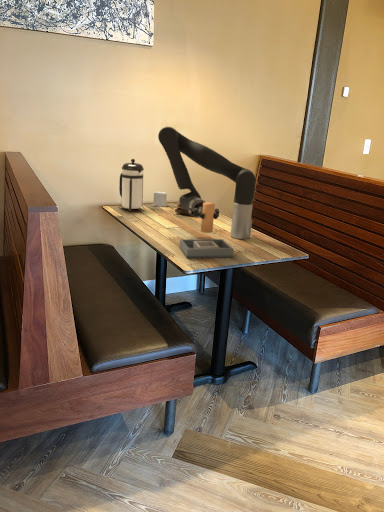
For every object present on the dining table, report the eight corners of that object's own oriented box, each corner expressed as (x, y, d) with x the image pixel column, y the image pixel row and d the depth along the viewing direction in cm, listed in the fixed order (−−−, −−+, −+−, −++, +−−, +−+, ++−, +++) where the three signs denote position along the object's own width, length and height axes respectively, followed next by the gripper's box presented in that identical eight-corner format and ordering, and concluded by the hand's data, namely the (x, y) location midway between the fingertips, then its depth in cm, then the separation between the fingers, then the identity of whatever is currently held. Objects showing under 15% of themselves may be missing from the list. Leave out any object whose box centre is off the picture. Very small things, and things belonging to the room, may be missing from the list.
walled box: (221, 247, 191) (222, 239, 190) (232, 257, 178) (233, 248, 177) (179, 248, 186) (179, 239, 185) (186, 258, 173) (187, 249, 172)
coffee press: (146, 207, 260) (148, 158, 250) (141, 213, 245) (142, 161, 235) (119, 205, 261) (120, 156, 251) (112, 210, 246) (112, 158, 236)
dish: (169, 211, 256) (169, 202, 254) (201, 209, 265) (202, 202, 264) (180, 217, 241) (181, 209, 239) (214, 216, 250) (215, 208, 249)
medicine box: (165, 205, 269) (166, 192, 267) (165, 207, 265) (166, 193, 262) (153, 204, 269) (154, 191, 266) (153, 206, 265) (153, 192, 262)
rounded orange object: (210, 229, 182) (213, 202, 178) (213, 232, 177) (216, 205, 174) (199, 229, 181) (201, 202, 177) (202, 232, 176) (205, 204, 172)
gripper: (184, 198, 187) (194, 207, 171) (214, 199, 191) (227, 208, 175) (183, 215, 189) (192, 225, 174) (213, 215, 193) (225, 225, 177)
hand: (209, 216), depth 174 cm, fingers closed on rounded orange object, 5 cm apart
